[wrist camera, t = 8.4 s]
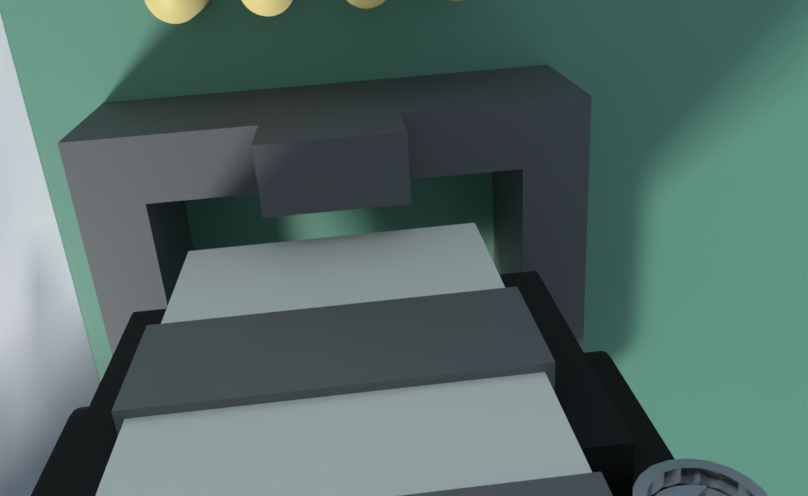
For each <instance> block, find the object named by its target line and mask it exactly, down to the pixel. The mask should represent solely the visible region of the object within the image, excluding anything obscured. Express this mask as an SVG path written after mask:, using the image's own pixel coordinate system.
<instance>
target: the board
mask: <svg viewBox="0 0 808 496" xmlns="http://www.w3.org/2000/svg"><path fill="white" fill-rule="evenodd" d="M0 13H1V17H2V21H3V24H4V28H5V32H6V36H7V39H8V43H9V47H10V50H11V54H12V58H13V62H14V65H15V69H16V73H17V76H18V80H19V84H20V87H21V91H22V95H23V99H24V102H25V106H26V110H27V113H28V117H29V121H30V124H31V128H32V132H33V136H34V139H35V143H36V147H37V150H38V154H39V158H40V162H41V165H42V169H43V173H44V176H45V180H46V184H47V187H48V191H49V195H50V199H51V202H52V206H53V210H54V213H55V217H56V221H57V225H58V228H59V232H60V236H61V239H62V243H63V247H64V250H65V254H66V258H67V262H68V265H69V269H70V273H71V276H72V280H73V284H74V287H75V291H76V295H77V299H78V302H79V306H80V310H81V313H82V317H83V321H84V325H85V328H86V332H87V336H88V339H89V343H90V347H91V350H92V354H93V358H94V362H95V365H96V369H97V373H98V376H99V380H100V382H101V380H102V378H103V376H104V374H105V371H106V369H107V367H108V365H109V363H110V361H111V358H112V356H113V354H114V352H115V350H116V348H117V345H118V343H119V341H120V339H121V337H122V335H123V332H124V330H125V328H126V326H127V324H128V322H129V319H130V317H131V315H132V314H133V312H138V311H147V310H157V309H167V306H168V304H169V301H170V298H171V296H172V293H173V291H174V288H175V285H176V283H177V280H178V277H179V275H180V272H181V270H182V267H183V264H184V262H185V259H186V256H187V254H188V251H195V250H205V249H215V248H225V247H235V246H245V245H255V244H265V243H275V242H285V241H296V240H306V239H316V238H326V237H336V236H346V235H356V234H366V233H376V232H386V231H396V230H406V229H416V228H426V227H436V226H446V225H456V224H466V223H475V224H476V226H477V229H478V231H479V233H480V235H481V237H482V239H483V241H484V243H485V246H486V248H487V250H488V252H489V254H490V256H491V258H492V260H493V263H494V265H495V267H496V269H497V271H498V273H499V274H509V273H519V272H528V271H537V272H538V274H539V275H540V277H541V279H542V281H543V282H544V284H545V286H546V288H547V289H548V291H549V293H550V295H551V296H552V298H553V300H554V302H555V303H556V305H557V307H558V308H559V310H560V312H561V314H562V315H563V317H564V319H565V321H566V322H567V324H568V326H569V328H570V329H571V331H572V333H573V335H574V336H575V338H576V340H577V341H578V343H579V345H580V347H581V348H582V350H583V352H584V353H585V352H594V351H605V352H607V354H608V355H609V356H610V357H611V358H612V360H613V362H614V363H615V365H616V366H617V368H618V370H619V371H620V373H621V374H622V376H623V377H624V379H625V381H626V382H627V384H628V385H629V387H630V389H631V390H632V392H633V393H634V395H635V397H636V398H637V400H638V401H639V403H640V405H641V406H642V408H643V409H644V411H645V412H646V414H647V416H648V417H649V419H650V420H651V422H652V424H653V425H654V427H655V428H656V430H657V432H658V433H659V435H660V436H661V438H662V439H663V441H664V443H665V444H666V446H667V447H668V449H669V451H670V452H671V454H672V455H673V457H674V459H685V458H690V459H698V460H707V461H711V462H715V463H718V464H721V465H724V466H728V467H730V468H732V469H734V470H736V471H738V472H740V473H742V474H744V475H746V476H747V477H749V478H750V479H752V480H753V481H754V482H755V483H756V484H758V485H759V486H760V487H761V488H762V489H763V490H765V492H766V493H767V495H768V496H808V0H0Z"/></svg>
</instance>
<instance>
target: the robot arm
mask: <svg viewBox="0 0 808 496" xmlns="http://www.w3.org/2000/svg"><path fill="white" fill-rule="evenodd" d="M499 275H500V277H501V280H502V282H503V284H504V286H505V288H507V287H516V286H517V287H518V289H519V291H520V293H521V295H522V297H523V299H524V301H525V303H526V305H527V307H528V309H529V311H530V313H531V315H532V317H533V319H534V321H535V323H536V325H537V327H538V329H539V331H540V333H541V335H542V337H543V339H544V340H545V342H546V344H547V346H548V348H549V350H550V352H551V354H552V356H553V358H554V360H555V394H556V396H557V398H558V401H559V403H560V405H561V407H562V409H563V411H564V413H565V415H566V418H567V420H568V422H569V424H570V426H571V428H572V430H573V432H574V435H575V437H576V439H577V441H578V443H579V445H580V447H581V449H582V452H583V454H584V456H585V458H586V460H587V462H588V464H589V466H590V469H591V471H592V472H602V474H603V477H604V479H605V481H606V483H607V485H608V487H609V489H610V491H611V493H612V495H613V496H768V495H767V493H766V492H765V490H763V489H762V488H761V487H760V486H759V485H758V484H756V483H755V482H754V481H753V480H752V479H750V478H749V477H747V476H746V475H744V474H742V473H740V472H738V471H736V470H734V469H732V468H730V467H728V466H724V465H721V464H718V463H715V462H711V461H707V460H698V459H690V458H685V459H674V457H673V455H672V454H671V452H670V451H669V449H668V447H667V446H666V444H665V443H664V441H663V439H662V438H661V436H660V435H659V433H658V432H657V430H656V428H655V427H654V425H653V424H652V422H651V420H650V419H649V417H648V416H647V414H646V412H645V411H644V409H643V408H642V406H641V405H640V403H639V401H638V400H637V398H636V397H635V395H634V393H633V392H632V390H631V389H630V387H629V385H628V384H627V382H626V381H625V379H624V377H623V376H622V374H621V373H620V371H619V370H618V368H617V366H616V365H615V363H614V362H613V360H612V358H611V357H610V356H609V355H608V354H607V352H605V351H594V352H585V353H584V352H583V350H582V348H581V347H580V345H579V343H578V341H577V340H576V338H575V336H574V335H573V333H572V331H571V329H570V328H569V326H568V324H567V322H566V321H565V319H564V317H563V315H562V314H561V312H560V310H559V308H558V307H557V305H556V303H555V302H554V300H553V298H552V296H551V295H550V293H549V291H548V289H547V288H546V286H545V284H544V282H543V281H542V279H541V277H540V275H539V274H538V272H537V271H528V272H519V273H509V274H499ZM165 312H166V309H157V310H147V311H138V312H133V314H132V315H131V317H130V319H129V322H128V324H127V326H126V328H125V330H124V332H123V335H122V337H121V339H120V341H119V343H118V345H117V348H116V350H115V352H114V354H113V356H112V358H111V361H110V363H109V365H108V367H107V369H106V371H105V374H104V376H103V378H102V380H101V382H100V384H99V387H98V389H97V391H96V393H95V395H94V398H93V400H92V402H91V404H90V406H89V407H82V408H78V409H76V410H74V411H73V413H72V414H71V416H70V417H69V419H68V421H67V423H66V425H65V427H64V429H63V431H62V433H61V435H60V437H59V439H58V441H57V443H56V445H55V447H54V450H53V452H52V454H51V456H50V458H49V460H48V462H47V464H46V466H45V468H44V470H43V472H42V474H41V476H40V478H39V480H38V482H37V484H36V486H35V488H34V490H33V492H32V494H31V496H95V495H96V492H97V490H98V487H99V485H100V482H101V479H102V477H103V474H104V472H105V469H106V466H107V464H108V461H109V458H110V456H111V453H112V451H113V448H114V445H115V443H116V440H117V437H118V434H117V430H116V427H115V423H114V419H113V416H112V412H111V411H112V408H113V406H114V404H115V401H116V399H117V396H118V394H119V391H120V389H121V387H122V384H123V382H124V379H125V377H126V375H127V372H128V370H129V367H130V365H131V362H132V360H133V358H134V355H135V353H136V350H137V348H138V345H139V343H140V341H141V338H142V336H143V333H144V331H145V328H146V326H147V325H154V324H161V322H162V319H163V317H164V314H165Z"/></svg>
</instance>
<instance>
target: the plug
mask: <svg viewBox="0 0 808 496" xmlns="http://www.w3.org/2000/svg"><path fill="white" fill-rule="evenodd" d="M111 412H112V416H113V419H114V423H115V427H116V430H117V434H118V437H117V440H116V443H115V445H114V448H113V451H112V453H111V456H110V458H109V461H108V464H107V466H106V469H105V472H104V474H103V477H102V479H101V482H100V485H99V487H98V490H97V492H96V495H95V496H613V495H612V493H611V491H610V489H609V487H608V485H607V483H606V481H605V479H604V477H603V474H602V472H592V471H591V469H590V466H589V464H588V462H587V460H586V458H585V456H584V454H583V452H582V449H581V447H580V445H579V443H578V441H577V439H576V437H575V435H574V432H573V430H572V428H571V426H570V424H569V422H568V420H567V418H566V415H565V413H564V411H563V409H562V407H561V405H560V403H559V401H558V398H557V396H556V394H555V360H554V358H553V356H552V354H551V352H550V350H549V348H548V346H547V344H546V342H545V340H544V339H543V337H542V335H541V333H540V331H539V329H538V327H537V325H536V323H535V321H534V319H533V317H532V315H531V313H530V311H529V309H528V307H527V305H526V303H525V301H524V299H523V297H522V295H521V293H520V291H519V289H518V287H517V286H516V287H507V288H505V286H504V284H503V282H502V280H501V277H500V275H499V273H498V271H497V269H496V267H495V265H494V263H493V260H492V258H491V256H490V254H489V252H488V250H487V248H486V246H485V243H484V241H483V239H482V237H481V235H480V233H479V231H478V229H477V226H476V224H475V223H466V224H456V225H446V226H436V227H426V228H416V229H406V230H396V231H386V232H376V233H366V234H356V235H346V236H336V237H326V238H316V239H306V240H296V241H285V242H275V243H265V244H255V245H245V246H235V247H225V248H215V249H205V250H195V251H188V254H187V256H186V259H185V262H184V264H183V267H182V270H181V272H180V275H179V277H178V280H177V283H176V285H175V288H174V291H173V293H172V296H171V298H170V301H169V304H168V306H167V309H166V312H165V314H164V317H163V319H162V322H161V324H154V325H147V326H146V328H145V331H144V333H143V336H142V338H141V341H140V343H139V345H138V348H137V350H136V353H135V355H134V358H133V360H132V362H131V365H130V367H129V370H128V372H127V375H126V377H125V379H124V382H123V384H122V387H121V389H120V391H119V394H118V396H117V399H116V401H115V404H114V406H113V408H112V411H111Z"/></svg>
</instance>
